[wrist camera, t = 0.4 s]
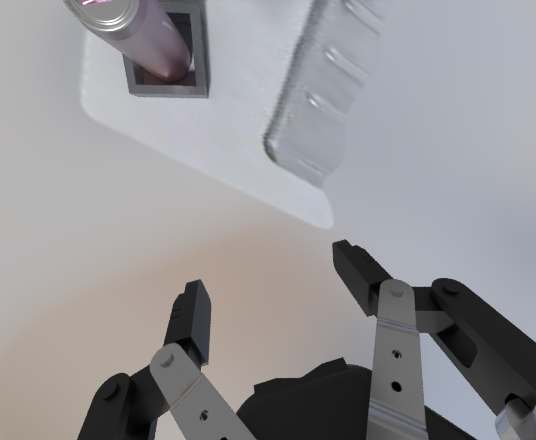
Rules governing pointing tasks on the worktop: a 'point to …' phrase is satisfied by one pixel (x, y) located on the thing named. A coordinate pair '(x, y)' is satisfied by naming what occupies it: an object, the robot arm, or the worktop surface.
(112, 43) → the beverage can
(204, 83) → the collar
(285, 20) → the worktop surface
